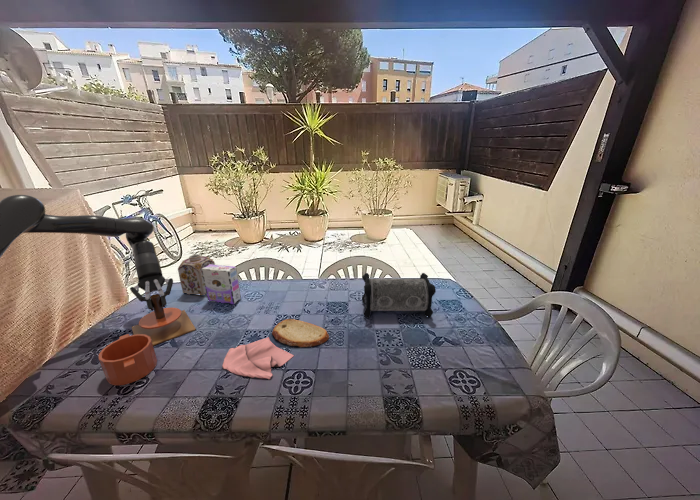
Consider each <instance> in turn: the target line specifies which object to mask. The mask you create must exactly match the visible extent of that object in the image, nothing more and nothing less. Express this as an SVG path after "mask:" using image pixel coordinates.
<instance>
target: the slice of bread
mask: <svg viewBox="0 0 700 500" xmlns="http://www.w3.org/2000/svg"><path fill="white" fill-rule="evenodd" d="M271 335H272V336H273V337H274V339H275V340H276V341H278V342H279V343H281V344H283V345H287V346H291V347H298V348H308V347H315V346H319V345H322V344H324V343H325V342H327V341H328V340H329V339H330V334H329V333H328V331H327V330H326V328H323V327H321V326H319V325H316V324H314V323H311V322H307V321H303V320H299V319H295V318H286V319H283V320H281V321H280V322H278V323H277V324H276V325H275V326H274V328H273V329H272V331H271Z"/></svg>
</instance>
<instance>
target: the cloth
mask: <svg viewBox="0 0 700 500" xmlns="http://www.w3.org/2000/svg"><path fill="white" fill-rule="evenodd" d="M293 357H295V355H294V354H293V353H290V352H288V351H286V350H284V349H282V348H280V347H279V346H276V345H275V344H274V343H273V342H272V341H271V339H270V337H269V336H268V337H265V338H261V339H259V340H256V341H252V342H250V343H246V344H240V345H238V346H236V347H231V348H229V349H228V351H227V353H226V354H225V357H224V358H223V362H222V366H221V367H222V369H223V370H227V372H230V373H232V374H235V375H237V376H242V377H245V378H248V377H249V378H252V379H253V378H254V379H266V380H267V379H268V380H271V378H272V377H273V373H272V368H275V367H276V368H280V367H282V366H284V365H285V364H286V363H288V362H289V361H290V360H292V358H293Z"/></svg>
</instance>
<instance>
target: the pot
mask: <svg viewBox="0 0 700 500" xmlns="http://www.w3.org/2000/svg"><path fill="white" fill-rule="evenodd" d="M118 338H119V339H116V340H114V341H112V342H110V343H109V344H108V345H106V346H105V347H103V348H102V349H101V351H100V352H99V353H98V361H99V363H100V366H101V369H102V371H103V374H104V377H105V379H106V382H107V383H108V384H110V385H112V386H125V385H129V384H132V383H134V382H137V381H139V380H141V379H143V378H144V377H146V376H148V375H149V374H150V373H151V372H152V371H153V370H155V368H156V367H157V365H158V358H157V355H156V352H155V347H154V346H153V344H152V341H151V338H150V336H148V335H145V334H137V335H133V334H132V335H130V334H129V333H127V334H124V335H121V336H119V337H118Z"/></svg>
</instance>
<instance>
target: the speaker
mask: <svg viewBox="0 0 700 500" xmlns="http://www.w3.org/2000/svg"><path fill="white" fill-rule="evenodd" d="M362 280H363V282H364V286H363V290H364V293H363V295H362V297H361V303H363V305H364V308H365V310H364V312H363V313H362V314H363V316H364V317H365V318H366V319H368V318H370V317H371V314H372V312H424V316H425V315H426V316H428V317H429V318H431V317H432V316H433V314H434V311H433V309H432V303H433V297H434V296H435V294H436V293H437V291H436V285H434V284H433V283H431V282H430V280H429V275H428V274H427V273H425V272H421V274H420V276H419V278H370V274H369V273H368V272H366V273H364V274H363V275H362ZM426 316H425V317H426Z"/></svg>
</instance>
